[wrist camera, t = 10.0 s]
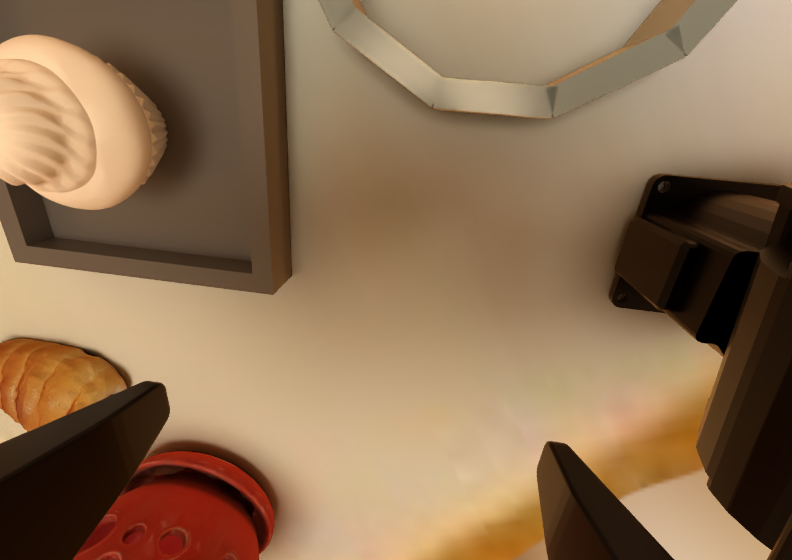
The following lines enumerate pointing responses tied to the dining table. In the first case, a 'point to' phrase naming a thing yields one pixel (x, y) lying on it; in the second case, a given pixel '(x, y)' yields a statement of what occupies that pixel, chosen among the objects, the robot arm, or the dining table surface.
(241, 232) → the tray
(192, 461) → the plant pot
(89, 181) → the muffin
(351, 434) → the dining table surface
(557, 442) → the robot arm
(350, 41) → the grey polygonal ring
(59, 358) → the pastry
